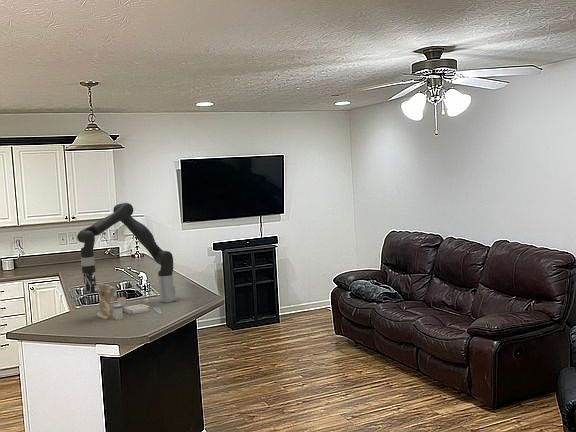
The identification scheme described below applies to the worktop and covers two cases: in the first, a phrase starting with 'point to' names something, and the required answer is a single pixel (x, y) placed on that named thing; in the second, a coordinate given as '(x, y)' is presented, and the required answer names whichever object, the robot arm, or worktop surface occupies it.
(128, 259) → the worktop surface
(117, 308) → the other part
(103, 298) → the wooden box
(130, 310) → the tray
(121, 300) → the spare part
